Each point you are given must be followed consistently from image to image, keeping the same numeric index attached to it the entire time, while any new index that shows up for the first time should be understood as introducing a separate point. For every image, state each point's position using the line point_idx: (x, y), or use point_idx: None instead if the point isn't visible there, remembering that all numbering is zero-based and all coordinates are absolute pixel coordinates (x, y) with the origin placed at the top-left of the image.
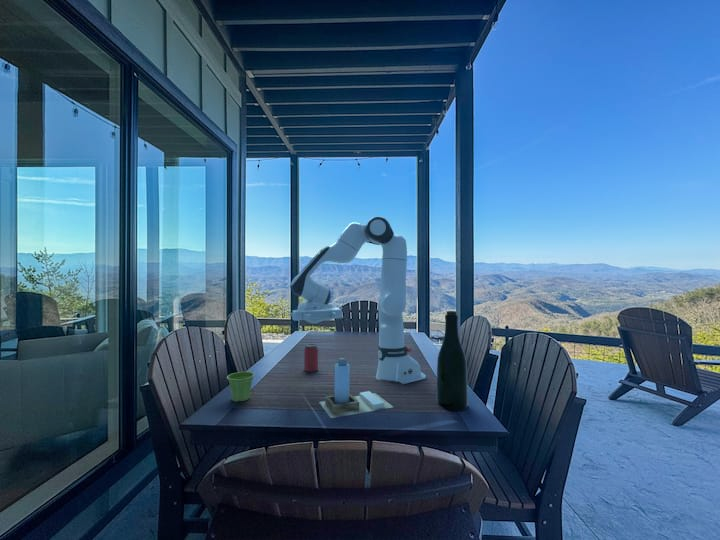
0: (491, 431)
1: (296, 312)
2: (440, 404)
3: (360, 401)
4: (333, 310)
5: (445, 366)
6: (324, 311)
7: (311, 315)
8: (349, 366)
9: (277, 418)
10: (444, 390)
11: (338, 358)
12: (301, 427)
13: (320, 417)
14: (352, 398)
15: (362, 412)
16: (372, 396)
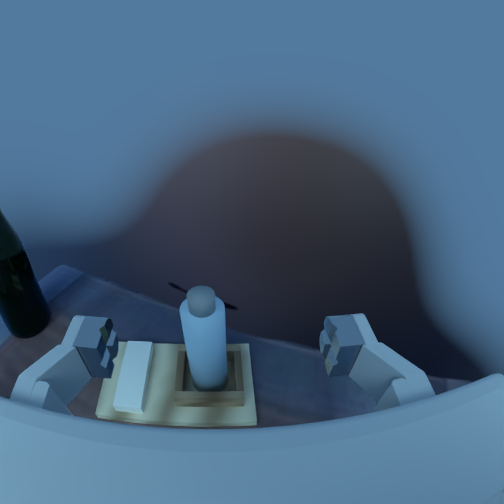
0: (69, 265)
1: (492, 375)
2: (47, 317)
3: (156, 389)
4: (7, 400)
5: (25, 252)
6: (126, 425)
7: (330, 317)
8: (185, 301)
9: (351, 385)
10: (39, 290)
11: (210, 300)
12: (304, 346)
13: (264, 370)
14: (183, 365)
15: (181, 344)
16: (127, 376)
